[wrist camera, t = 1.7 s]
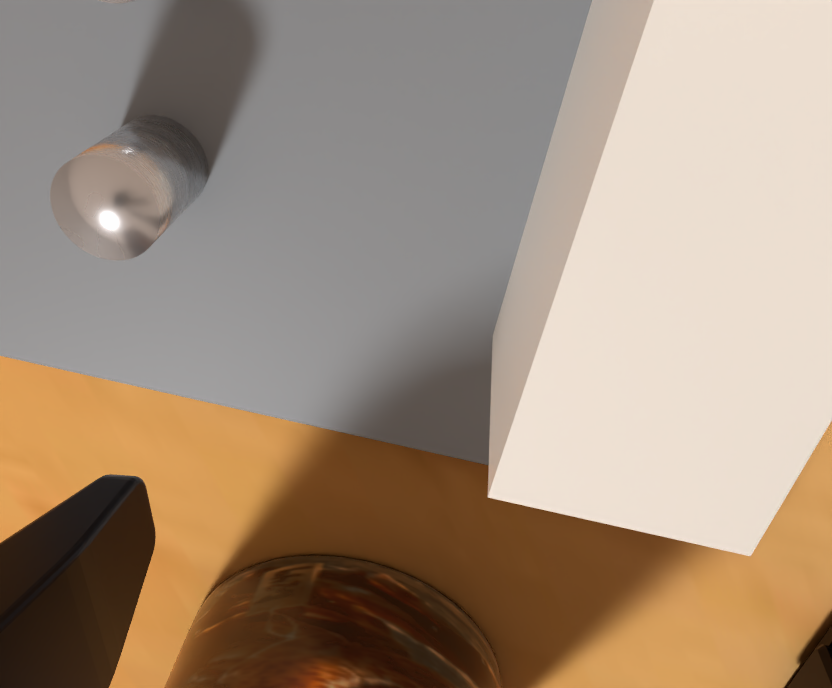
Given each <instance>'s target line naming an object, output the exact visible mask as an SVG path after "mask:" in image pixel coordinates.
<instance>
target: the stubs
mask: <svg viewBox="0 0 832 688" xmlns="http://www.w3.org/2000/svg"><path fill="white" fill-rule="evenodd" d="M99 1H102V2H107V3H116V4H121V3H128V2H132V1H135V0H99ZM207 177H208V165H207V160H206V156H205V153H204V151H203V148H202V147H201V145H200V143H199V142H198V140H197V139H196V137H195V136H194V135H193V134H192V133H191V132H190V131H189V130H188V129H187V128H185V127H184V126H183V125H181V124H180V123H178V122H176V121H174V120H172V119H170V118H167V117H163V116H158V115H147V116H141V117H138V118H136V119H133V120H132V121H130V122H129V123H127V124H126V125H124V126H122V127H121V128H119V129H118V130H116V131H115V132H113V133H112V134H110V135H108V136H107V137H105V138H104V139H102V140H101V141H99V142H98V143H96V144H95V145H93V146H91V147H90V148H88V149H87V150H85V151H84V152H82V153H81V154H79V155H78V156H76V157H74V158H73V159H71V160H70V161H68V162H67V163H65V164H64V165H63V166H62V167H61V168H60V169H59V170H58V171H57V173H56V174H55V176H54V178H53V181H52V184H51V189H50V202H51V207H52V211H53V214H54V217H55V219H56V221H57V223H58V225H59V226H60V228H61V229H62V231H63V232H64V233H65V235H66V236H67V237H68V238H69V239H70V240H71V241H72V242H73V243H74V244H75V245H77V246H78V247H79V248H81V249H82V250H84V251H85V252H87V253H89V254H91V255H94V256H96V257H99V258H102V259H107V260H115V261H120V260H128V259H132V258H135V257H137V256H139V255H141V254H142V253H144V252H145V251H146V250H147V249H148V248H149V247H150V246H151V245H152V244H153V243H154V242H155V241H156V240H157V239H158V238H159V237H160V236H161V235H162V234H163V233H164V232H165V231H166V230H167V229H168V228H169V227H170V226H171V225H172V224H173V222H174V221H175V220H176V219H177V218H178V217H179V216H180V215H181V214H182V213H183V212H184V211H185V210H186V209H187V208H188V207H189V206H190V205H191V204H192V203H193V202H194V201H195V200H196V199H197V198H198V197H199V195H200V194H201V193H202V191H203V189H204V187H205V185H206V182H207Z"/></svg>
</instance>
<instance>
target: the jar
mask: <svg viewBox="0 0 832 688" xmlns="http://www.w3.org/2000/svg"><path fill="white" fill-rule="evenodd" d="M165 688H501V679H500V673H499V667H498V664H497V661H496V657H495V655H494V653H493V650H492V648H491V646H490V644H489V642H488V641H487V639H486V637H485V636H484V634H483V633H482V631H481V630H480V629H479V627H478V626H477V625H476V624H475V623H474V621H473V620H472V619H471V618H470V617H469V616H468V615H467V614H466V613H465V612H464V611H463V610H462V609H461V608H460V607H458V606H457V605H456V604H455V603H454V602H452V601H451V600H450V599H448V598H447V597H446V596H444V595H443V594H441V593H440V592H438V591H437V590H435V589H433V588H432V587H430V586H429V585H427V584H425V583H423V582H421V581H419V580H417V579H415V578H413V577H411V576H409V575H406V574H404V573H402V572H399V571H396V570H394V569H391V568H388V567H385V566H381V565H378V564H375V563H371V562H366V561H362V560H357V559H351V558H345V557H336V556H318V555H311V556H295V557H286V558H280V559H275V560H271V561H267V562H263V563H260V564H257V565H254V566H251V567H249V568H247V569H244V570H242V571H240V572H238V573H236V574H235V575H233V576H231V577H230V578H228V579H227V580H225V581H224V582H223V583H221V584H220V585H219V586H218V587H217V588H216V589H215V590H214V591H213V592H212V593H211V594H210V595H209V596H208V597H207V599H206V600H205V602H204V603H203V605H202V606H201V608H200V609H199V611H198V613H197V615H196V617H195V619H194V621H193V624H192V626H191V628H190V630H189V632H188V634H187V637H186V639H185V641H184V644H183V646H182V648H181V650H180V653H179V655H178V657H177V660H176V662H175V664H174V667H173V669H172V671H171V674H170V676H169V678H168V681H167V683H166V685H165Z"/></svg>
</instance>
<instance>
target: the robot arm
mask: <svg viewBox="0 0 832 688" xmlns="http://www.w3.org/2000/svg"><path fill="white" fill-rule="evenodd" d="M154 546H155V527H154V522H153V517H152V513H151V508H150V503H149V499H148V494H147V489H146V486H145V483H144V482H143V480H142V479H141V478H139V477H136V476H125V475H105V476H102V477H100V478H99V479H97V480H95V481H94V482H92V483H91V484H89V485H88V486H86V487H85V488H83V489H82V490H80V491H79V492H77V493H76V494H74V495H73V496H71V497H70V498H68V499H67V500H65V501H63V502H62V503H60V504H59V505H57V506H56V507H54V508H53V509H51V510H50V511H48V512H47V513H45V514H44V515H42V516H41V517H39V518H38V519H36V520H35V521H33V522H32V523H30V524H29V525H27V526H25V527H24V528H22V529H21V530H19V531H18V532H16V533H15V534H13V535H12V536H10V537H9V538H7V539H6V540H4V541H3V542H1V543H0V688H109V685H110V683H111V681H112V678H113V676H114V673H115V670H116V667H117V664H118V661H119V658H120V655H121V652H122V649H123V646H124V643H125V640H126V636H127V633H128V630H129V627H130V624H131V621H132V617H133V614H134V611H135V608H136V605H137V602H138V598H139V595H140V592H141V589H142V586H143V583H144V579H145V576H146V573H147V570H148V567H149V564H150V560H151V557H152V554H153V550H154ZM787 688H832V626H831V627H830V629H829V630H828V631H827V633H826V634H825V636H824V637H823V638H822V640H821V641H820V642H819V644H818V645H817V647H816V648H815V649H814V651H813V652H812V654H811V655H810V656H809V658H808V659H807V661H806V662H805V663H804V665H803V666H802V668H801V669H800V670H799V672H798V673H797V674H796V676H795V677H794V679H793V680H792V681H791V683H790V684H789V686H788V687H787Z"/></svg>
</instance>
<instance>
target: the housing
mask: <svg viewBox="0 0 832 688" xmlns="http://www.w3.org/2000/svg"><path fill="white" fill-rule="evenodd" d="M831 421H832V0H592V3H591V6H590V9H589V13H588V16H587V19H586V23H585V26H584V30H583V33H582V36H581V40H580V43H579V46H578V50H577V53H576V57H575V60H574V63H573V67H572V70H571V73H570V77H569V80H568V83H567V87H566V90H565V94H564V97H563V100H562V104H561V107H560V110H559V114H558V117H557V121H556V124H555V127H554V131H553V134H552V137H551V141H550V144H549V148H548V151H547V154H546V158H545V161H544V164H543V168H542V171H541V175H540V178H539V181H538V185H537V188H536V191H535V195H534V198H533V201H532V205H531V208H530V212H529V215H528V218H527V222H526V225H525V228H524V232H523V235H522V239H521V242H520V245H519V249H518V252H517V255H516V259H515V262H514V266H513V269H512V272H511V276H510V279H509V282H508V286H507V289H506V293H505V296H504V299H503V303H502V306H501V309H500V313H499V316H498V319H497V323H496V326H495V330H494V333H493V341H492V373H491V406H490V438H489V471H488V498H493V499H497V500H501V501H506V502H510V503H515V504H519V505H524V506H528V507H533V508H537V509H542V510H546V511H551V512H555V513H560V514H564V515H568V516H573V517H577V518H582V519H586V520H591V521H595V522H600V523H604V524H609V525H613V526H618V527H622V528H626V529H631V530H635V531H640V532H644V533H649V534H653V535H658V536H662V537H667V538H671V539H676V540H680V541H685V542H689V543H693V544H698V545H702V546H707V547H711V548H716V549H720V550H725V551H729V552H734V553H738V554H743V555H747V556H751V555H752V553H753V551H754V550H755V548H756V546H757V545H758V543H759V541H760V540H761V538H762V536H763V535H764V533H765V531H766V529H767V528H768V526H769V524H770V523H771V521H772V519H773V518H774V516H775V514H776V513H777V511H778V509H779V508H780V506H781V504H782V503H783V501H784V499H785V498H786V496H787V494H788V493H789V491H790V489H791V488H792V486H793V484H794V483H795V481H796V479H797V478H798V476H799V474H800V473H801V471H802V469H803V468H804V466H805V464H806V462H807V461H808V459H809V457H810V456H811V454H812V452H813V451H814V449H815V447H816V446H817V444H818V442H819V441H820V439H821V437H822V436H823V434H824V432H825V431H826V429H827V427H828V426H829V424H830V422H831Z"/></svg>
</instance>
